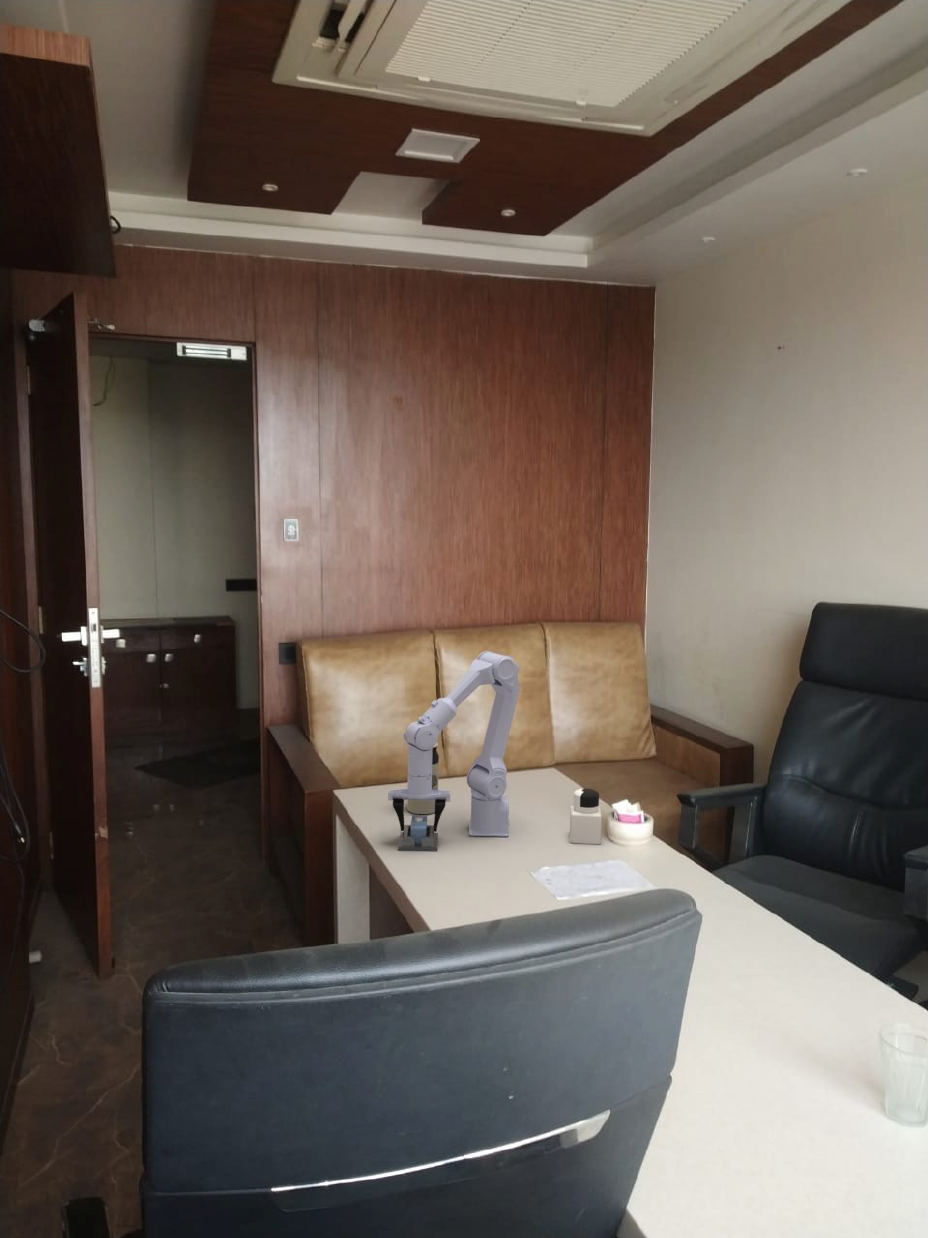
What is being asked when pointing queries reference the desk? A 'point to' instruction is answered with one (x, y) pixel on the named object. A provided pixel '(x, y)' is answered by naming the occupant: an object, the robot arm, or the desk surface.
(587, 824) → the grey rotary knob pedestal
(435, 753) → the travel mug
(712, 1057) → the desk surface
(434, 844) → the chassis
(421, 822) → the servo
